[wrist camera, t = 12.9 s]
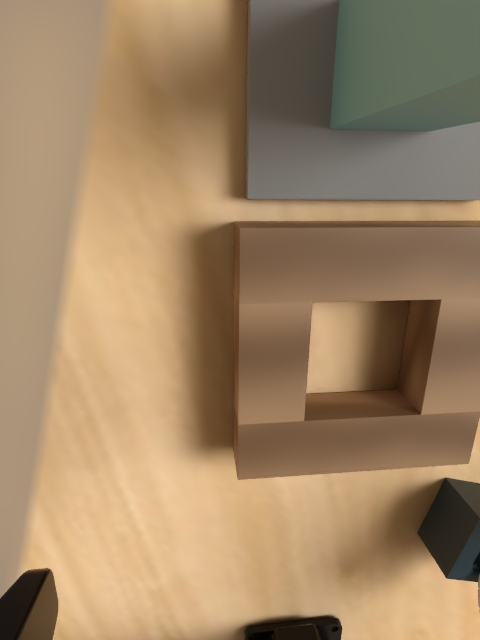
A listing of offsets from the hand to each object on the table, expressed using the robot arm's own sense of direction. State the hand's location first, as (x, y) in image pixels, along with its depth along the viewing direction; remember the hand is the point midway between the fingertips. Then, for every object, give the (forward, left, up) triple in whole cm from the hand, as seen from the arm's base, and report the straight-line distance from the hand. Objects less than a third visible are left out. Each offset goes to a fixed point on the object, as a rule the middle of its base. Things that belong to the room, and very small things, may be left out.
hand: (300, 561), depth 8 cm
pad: (+11, -6, -13) cm, 18 cm away
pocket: (-1, -6, -13) cm, 14 cm away
